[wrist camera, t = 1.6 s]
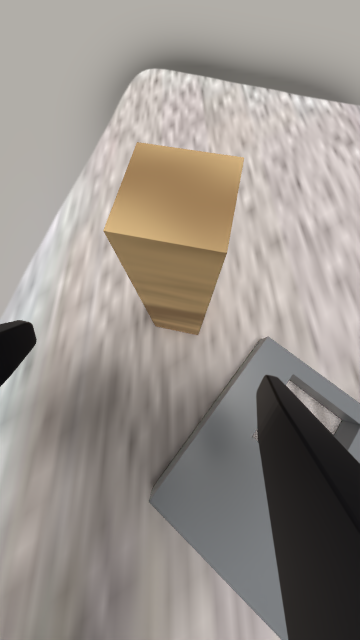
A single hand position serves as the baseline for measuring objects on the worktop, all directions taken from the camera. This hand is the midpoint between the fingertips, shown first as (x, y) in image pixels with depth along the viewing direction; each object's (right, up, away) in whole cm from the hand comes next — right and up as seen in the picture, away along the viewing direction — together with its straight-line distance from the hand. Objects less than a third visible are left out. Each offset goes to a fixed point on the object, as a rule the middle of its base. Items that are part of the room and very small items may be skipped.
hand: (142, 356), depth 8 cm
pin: (+2, +2, +13) cm, 14 cm away
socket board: (+9, -11, +10) cm, 17 cm away
